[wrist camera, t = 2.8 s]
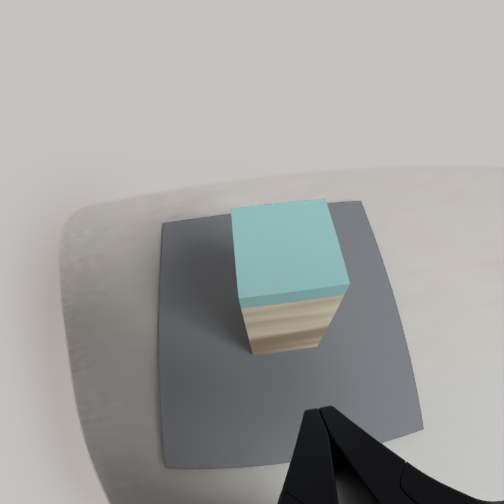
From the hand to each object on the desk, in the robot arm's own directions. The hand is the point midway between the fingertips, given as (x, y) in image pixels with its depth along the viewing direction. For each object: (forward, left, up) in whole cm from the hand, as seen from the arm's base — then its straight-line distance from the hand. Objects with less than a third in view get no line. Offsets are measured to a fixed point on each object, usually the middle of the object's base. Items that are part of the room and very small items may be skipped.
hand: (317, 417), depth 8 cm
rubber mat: (+6, 0, -10) cm, 12 cm away
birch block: (+6, 0, -9) cm, 11 cm away
